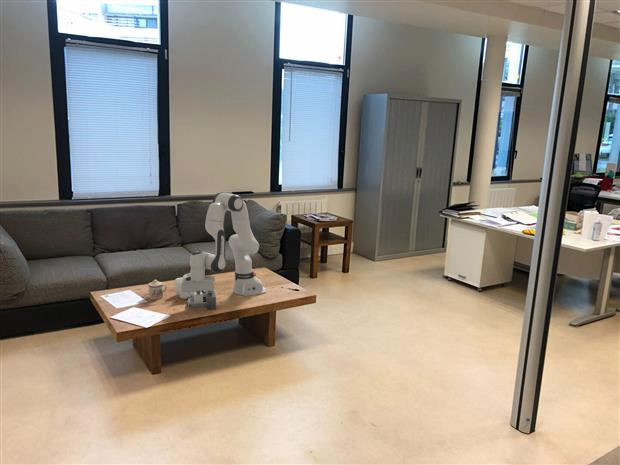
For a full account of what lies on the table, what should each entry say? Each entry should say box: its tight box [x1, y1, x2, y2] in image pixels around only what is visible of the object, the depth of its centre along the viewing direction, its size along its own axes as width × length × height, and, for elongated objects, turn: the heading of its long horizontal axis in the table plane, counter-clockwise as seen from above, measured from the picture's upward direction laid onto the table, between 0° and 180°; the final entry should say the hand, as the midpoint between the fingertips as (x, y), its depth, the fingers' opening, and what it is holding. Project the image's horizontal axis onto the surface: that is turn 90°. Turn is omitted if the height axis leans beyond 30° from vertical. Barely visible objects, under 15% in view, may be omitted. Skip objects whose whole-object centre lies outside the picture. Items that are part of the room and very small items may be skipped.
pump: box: [193, 291, 204, 303], centre depth 305 cm, size 5×5×9 cm
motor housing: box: [187, 289, 217, 311], centre depth 306 cm, size 16×16×9 cm
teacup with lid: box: [147, 279, 167, 300], centre depth 318 cm, size 12×9×12 cm
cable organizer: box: [174, 277, 202, 300], centre depth 322 cm, size 15×11×12 cm
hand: (197, 297), depth 305 cm, fingers open, 7 cm apart
